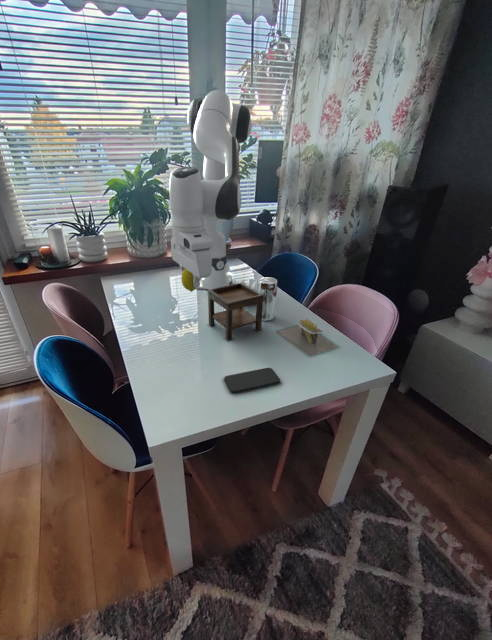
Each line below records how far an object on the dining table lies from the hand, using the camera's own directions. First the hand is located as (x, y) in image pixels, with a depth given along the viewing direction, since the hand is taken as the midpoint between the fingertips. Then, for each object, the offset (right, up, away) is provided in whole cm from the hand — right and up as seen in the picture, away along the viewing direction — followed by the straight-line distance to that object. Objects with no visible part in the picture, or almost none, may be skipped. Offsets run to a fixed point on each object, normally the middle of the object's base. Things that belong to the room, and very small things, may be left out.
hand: (191, 283), depth 98 cm
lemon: (0, -2, +2) cm, 3 cm away
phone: (+18, -29, -5) cm, 35 cm away
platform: (+39, -16, +15) cm, 45 cm away
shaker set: (+19, 0, +39) cm, 44 cm away
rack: (+14, -11, +22) cm, 28 cm away
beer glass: (+26, -7, +29) cm, 40 cm away
